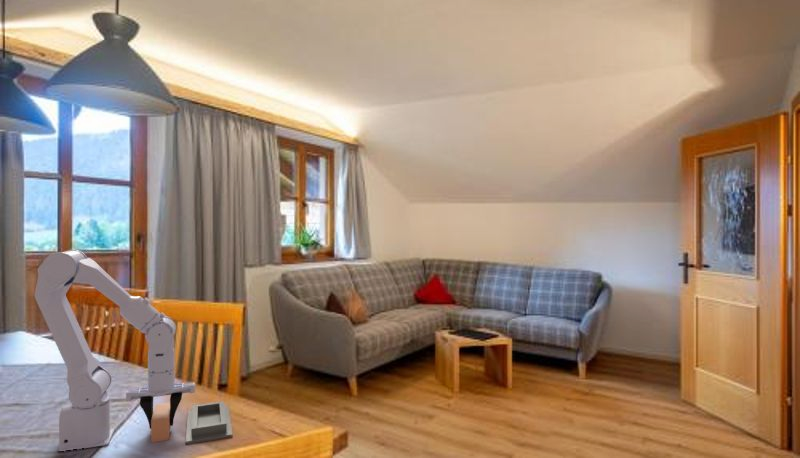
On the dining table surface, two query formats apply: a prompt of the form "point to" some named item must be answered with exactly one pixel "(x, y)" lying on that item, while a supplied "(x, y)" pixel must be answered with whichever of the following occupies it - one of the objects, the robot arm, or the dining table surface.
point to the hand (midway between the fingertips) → (161, 425)
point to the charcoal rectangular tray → (208, 422)
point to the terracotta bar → (160, 422)
